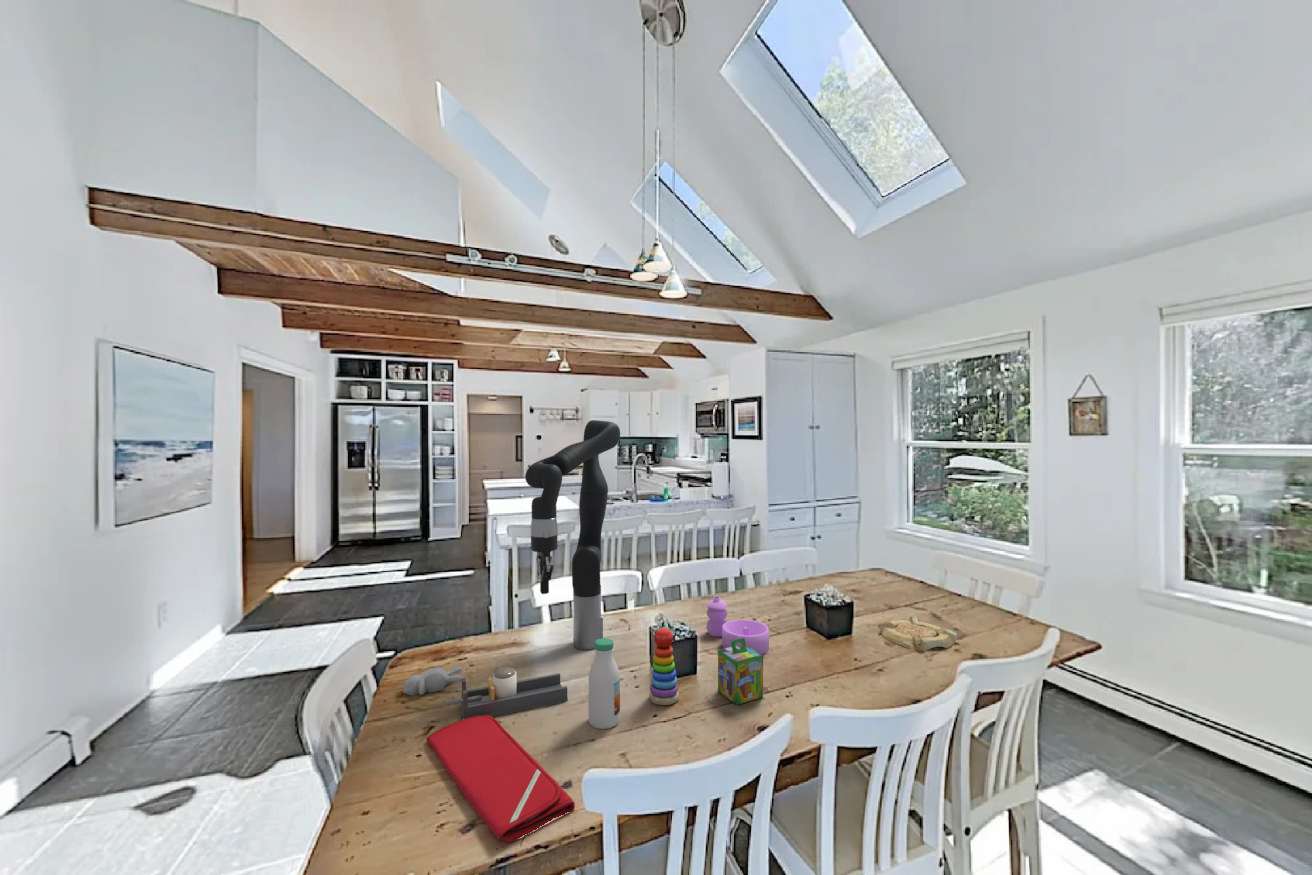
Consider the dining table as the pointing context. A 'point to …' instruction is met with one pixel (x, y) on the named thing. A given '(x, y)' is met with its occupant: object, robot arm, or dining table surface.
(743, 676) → the chalk box
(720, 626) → the container set
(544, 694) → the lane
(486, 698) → the pusher
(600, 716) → the milk bottle
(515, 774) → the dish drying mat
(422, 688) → the bunny figurine
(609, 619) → the dining table surface
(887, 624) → the ashtray
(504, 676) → the spice jar
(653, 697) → the stacking toy
